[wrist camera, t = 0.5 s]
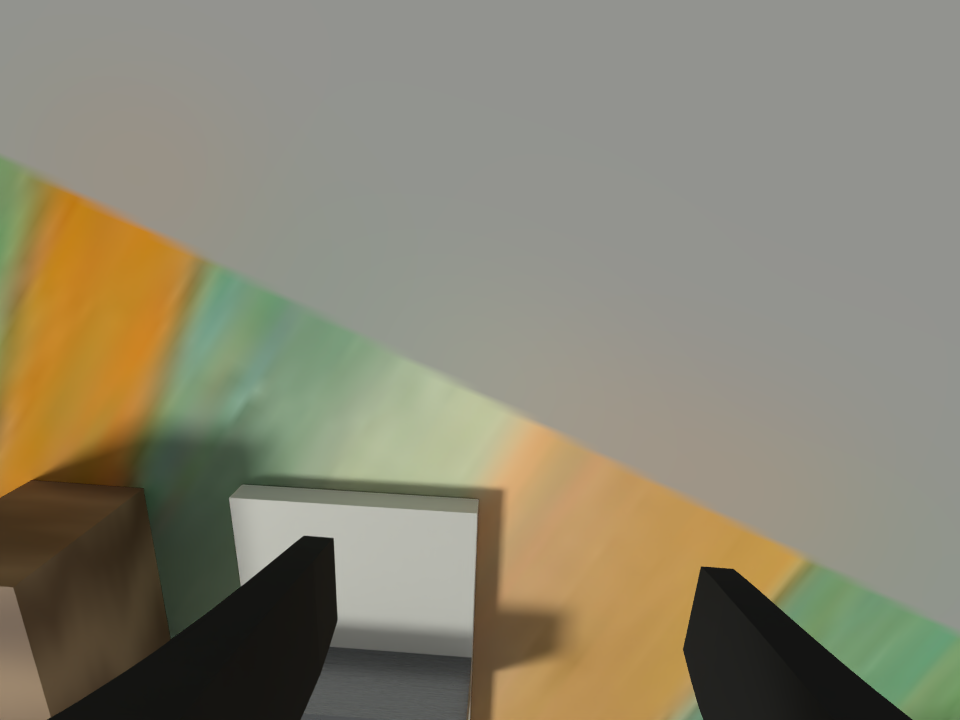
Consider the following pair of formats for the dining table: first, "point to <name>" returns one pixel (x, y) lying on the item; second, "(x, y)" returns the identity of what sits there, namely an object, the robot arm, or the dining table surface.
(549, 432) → the dining table surface
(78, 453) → the dining table surface
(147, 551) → the walnut beam
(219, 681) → the robot arm
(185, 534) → the dining table surface
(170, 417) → the dining table surface
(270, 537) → the fulcrum board
